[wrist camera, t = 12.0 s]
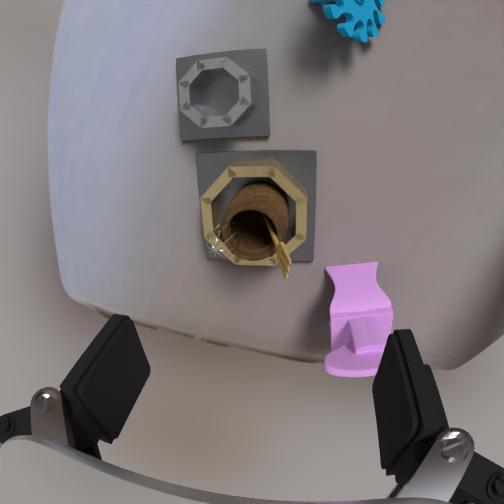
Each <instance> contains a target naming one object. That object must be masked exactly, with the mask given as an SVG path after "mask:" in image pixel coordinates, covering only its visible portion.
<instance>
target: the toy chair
mask: <svg viewBox="0 0 504 504" xmlns="http://www.w3.org/2000/svg"><path fill="white" fill-rule="evenodd" d="M377 267H378V262H370V263H361V264H351V265H341V266H332V267H325V271H326V272H327V273H328V275H329V276H330V278H331V279H332V281H333V283H334V286H335V294H334V297H333V300H332V302H331V305H330V321H328V325H329V326H330V328H331V352H330V353H329V354H327V355H326V357H325V359H324V369H325V371H326V372H327V373H329V374H331V375H334V376H341V377H367V376H374V375H376V373H377V370H378V367H379V364H380V361H381V358H382V355H383V352H384V348H385V345H386V342H387V338H388V335H389V334H390V333H391V327H392V321H393V309H392V307H391V302H390V299H389V298H388V297H387V296H386V294H385V293H384V292H383V291H382V290H381V288H380V287H379V286H378V283H377V281H376V272H377Z"/></svg>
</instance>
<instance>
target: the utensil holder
mask: <svg viewBox="0 0 504 504" xmlns="http://www.w3.org/2000/svg"><path fill="white" fill-rule="evenodd" d="M288 221H289V207H288V203H287V200H286V198H285V196H284V195H283V193H282V192H281V191H280V190H279V189H278V188H276V187H275V186H273V185H271V184H268V183H264V182H254V183H250V184H248V185H246V186H244V187H242V188H241V189H240V190H239V191H238V192H237V193H236V194H235V195H234V197H233V198H232V199H231V201H230V203H229V204H228V206H227V208H226V210H225V213H224V220H223V224H220V225H222V230H221V231H222V237H223V240H224V243H225V245H226V246H227V248H228V249H229V250H230V251H231V252H232V254H234V255H236V256H237V257H239V258H242V259H244V260H249V261H258V260H262V259H265V258H267V257H269V256H271V255H272V254H273V253H274V252H275V251H276V250H277V261H278V263H279V266H280V268H281V270H282V272H283V275H284V277H285V279H286V280H288V275H287V272H290V268H289V265H288V264H291V259H290V256H289V254H288V251H287V249H286V247H285V244H284V242H282V240H283V238H284V237H285V234H286V232H287V228H288ZM220 225H218V226H220ZM218 226H217V227H218ZM217 227H216V228H217ZM216 228H215V229H216ZM215 229H214V230H215ZM221 231H218V232H221ZM218 232H216V233H218ZM211 233H212V232H211ZM211 233H210V236H211ZM216 233H215V234H216ZM219 234H220V233H219ZM213 235H214V234H213ZM213 235H212V236H213ZM212 236H211V237H212ZM218 236H219V235H218ZM211 237H210V238H211ZM210 238H209V239H210ZM209 239H208V240H209ZM217 239H218V237H217ZM217 239H216V242H217ZM208 240H207V241H208ZM207 241H206V245H207ZM210 242H211V239H210ZM220 242H221V241H220ZM220 242H219V243H220ZM219 243H218V244H219ZM224 243H223V244H224ZM218 244H217V245H218ZM211 245H212V243H211ZM217 245H216V243H215V247H216V246H217ZM221 245H222V244H221ZM221 245H220V246H221ZM207 246H208V245H207ZM212 246H213V245H212ZM220 246H219V247H220ZM208 247H209V246H208ZM215 247H213V248H214V250H215V251H216V249H217V248H218V247H217V248H216V249H215ZM209 248H210V247H209ZM213 248H211V249H213ZM228 249H227V250H218V251H225V252H226V251H228ZM214 250H213V251H214ZM211 252H212V251H211ZM211 252H209V253H211ZM216 252H217V251H216ZM225 252H224V253H225ZM217 253H218V252H217ZM224 253H223V254H224ZM218 254H219V253H218ZM223 254H222V255H223ZM232 254H231V255H232ZM219 255H220V254H219ZM222 255H221V256H222ZM231 255H230V256H231ZM221 256H220V257H221ZM215 257H216V255H215ZM220 257H219V258H220ZM222 257H224V256H222ZM228 257H229V256H228ZM216 258H217V257H216ZM287 262H288V263H287ZM285 268H286V269H285ZM286 271H287V272H286Z"/></svg>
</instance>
